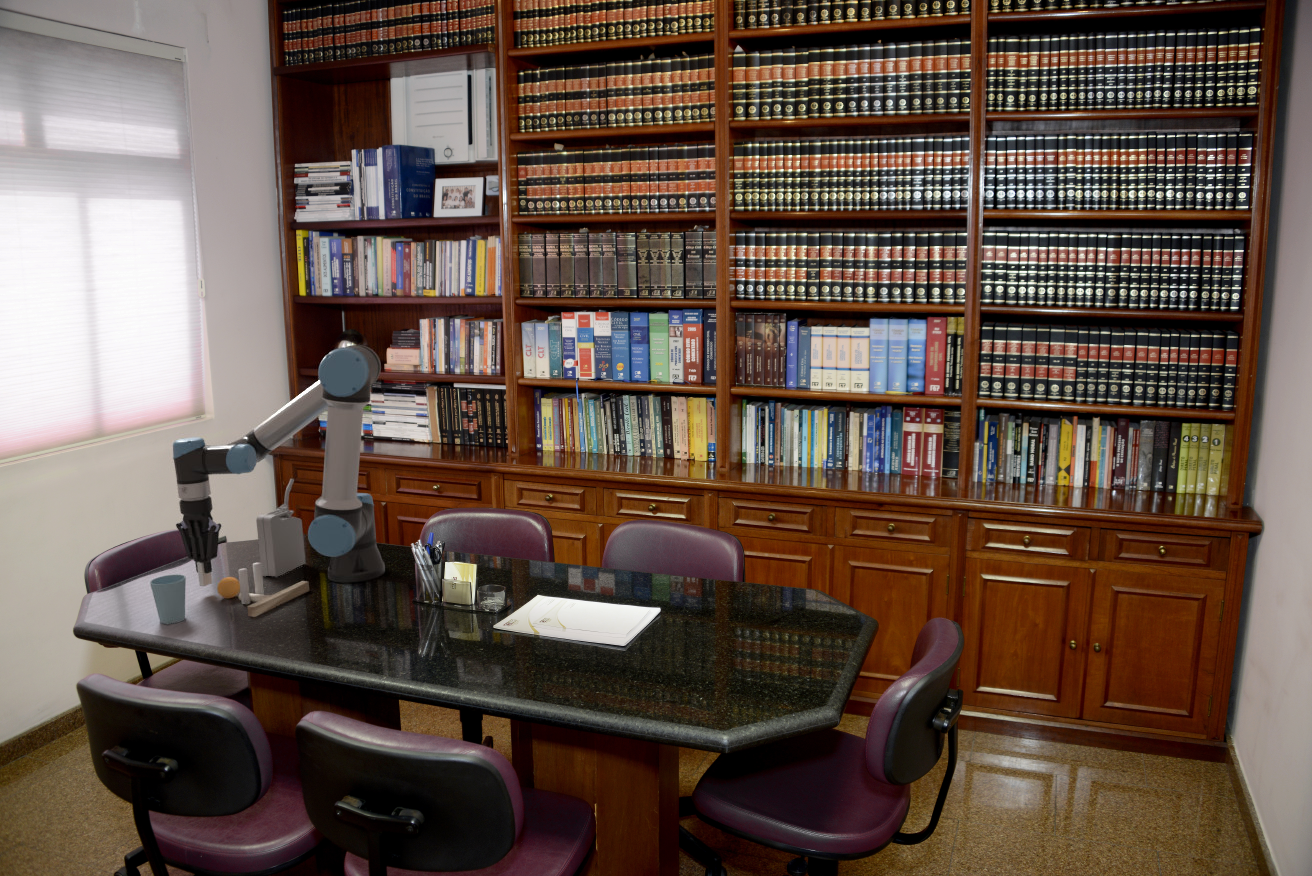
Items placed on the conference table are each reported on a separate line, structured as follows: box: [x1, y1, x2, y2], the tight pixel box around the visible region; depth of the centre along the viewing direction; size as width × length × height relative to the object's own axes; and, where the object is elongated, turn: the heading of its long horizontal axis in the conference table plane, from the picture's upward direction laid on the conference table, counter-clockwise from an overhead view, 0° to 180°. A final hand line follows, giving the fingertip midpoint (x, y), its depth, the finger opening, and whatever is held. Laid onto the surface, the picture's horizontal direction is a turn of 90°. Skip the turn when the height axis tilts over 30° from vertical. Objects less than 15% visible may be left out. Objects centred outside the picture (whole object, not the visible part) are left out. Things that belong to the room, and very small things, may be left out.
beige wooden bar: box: [247, 580, 310, 618], centre depth 237 cm, size 2×20×2 cm, turn 162°
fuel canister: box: [256, 478, 306, 578], centre depth 264 cm, size 15×5×25 cm, turn 163°
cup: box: [149, 574, 187, 625], centre depth 226 cm, size 8×8×10 cm
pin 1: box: [237, 568, 251, 605], centre depth 237 cm, size 2×2×9 cm
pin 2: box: [252, 562, 265, 595], centre depth 242 cm, size 2×2×9 cm
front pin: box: [238, 592, 272, 603], centre depth 239 cm, size 2×2×9 cm
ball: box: [216, 576, 241, 599], centre depth 242 cm, size 6×6×6 cm
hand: (205, 584), depth 245 cm, fingers closed
